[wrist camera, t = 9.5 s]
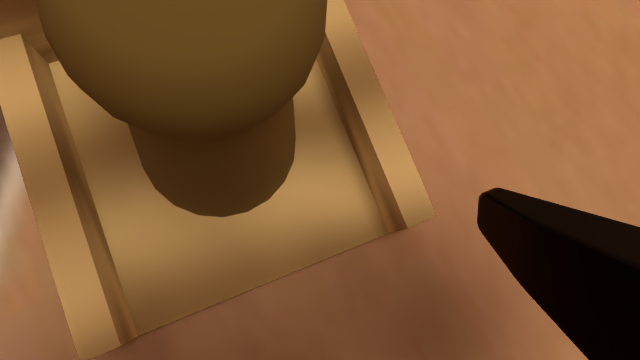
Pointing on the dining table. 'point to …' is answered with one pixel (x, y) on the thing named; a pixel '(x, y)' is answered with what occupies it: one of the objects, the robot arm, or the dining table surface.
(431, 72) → the dining table surface
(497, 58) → the dining table surface
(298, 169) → the oak cradle
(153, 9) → the pepper shaker
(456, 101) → the dining table surface
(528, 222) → the robot arm
